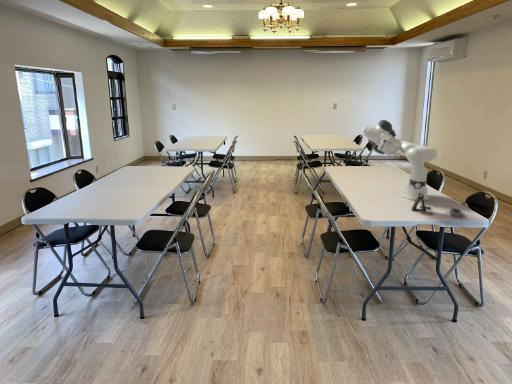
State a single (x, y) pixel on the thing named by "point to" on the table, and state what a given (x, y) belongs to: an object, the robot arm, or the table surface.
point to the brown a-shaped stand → (418, 202)
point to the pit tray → (456, 213)
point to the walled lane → (426, 212)
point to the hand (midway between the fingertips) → (402, 154)
